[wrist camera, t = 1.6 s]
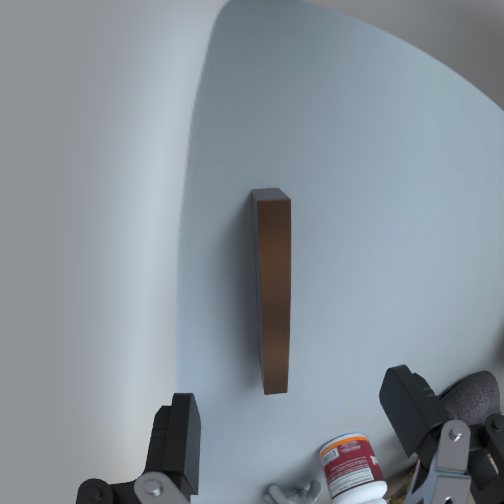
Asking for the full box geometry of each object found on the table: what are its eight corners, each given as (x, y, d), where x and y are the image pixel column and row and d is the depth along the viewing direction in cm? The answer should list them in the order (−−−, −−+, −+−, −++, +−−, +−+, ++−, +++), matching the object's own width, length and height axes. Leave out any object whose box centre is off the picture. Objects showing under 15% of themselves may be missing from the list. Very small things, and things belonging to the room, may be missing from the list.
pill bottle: (364, 448, 29) (389, 513, 19) (318, 461, 29) (336, 531, 19) (369, 425, 27) (400, 500, 16) (317, 440, 27) (340, 522, 16)
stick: (251, 189, 17) (256, 200, 13) (278, 187, 17) (290, 198, 13) (259, 362, 21) (264, 395, 18) (280, 360, 21) (287, 392, 18)
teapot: (425, 380, 25) (468, 445, 15) (499, 357, 26) (537, 400, 17) (369, 463, 31) (388, 514, 22) (443, 438, 33) (465, 478, 24)
